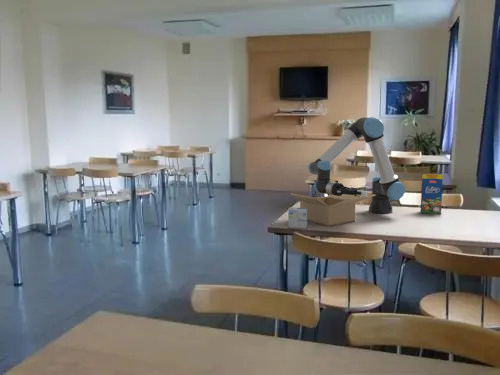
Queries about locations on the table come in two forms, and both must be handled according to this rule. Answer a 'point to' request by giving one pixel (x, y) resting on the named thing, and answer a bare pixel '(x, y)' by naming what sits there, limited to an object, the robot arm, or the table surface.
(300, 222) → the light bulb box
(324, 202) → the carton
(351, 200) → the carton flap
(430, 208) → the blue food package
